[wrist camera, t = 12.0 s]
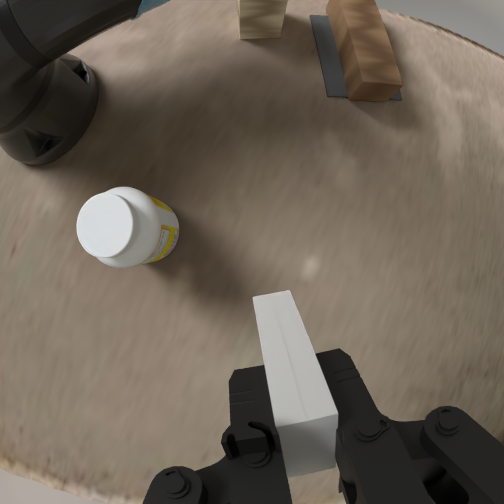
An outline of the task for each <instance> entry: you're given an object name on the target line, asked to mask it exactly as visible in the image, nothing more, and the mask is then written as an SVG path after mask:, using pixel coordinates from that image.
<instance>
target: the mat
mask: <svg viewBox="0 0 504 504" xmlns="http://www.w3.org/2000/svg"><path fill="white" fill-rule="evenodd" d="M310 19H311V23H312V27H313V31H314V35H315V40H316V44H317V48H318V53H319V57H320V62H321V66H322V71H323V76H324V81H325V86H326V91H327V96H328V97H348V94H347V89H346V84H345V80H344V75H343V71H342V67H341V63H340V59H339V54H338V51H337V47H336V43H335V39H334V35H333V32H332V28H331V24H330V21H329V17H328V16H321V15H310ZM389 99H391V100H402V97H401V93H400V90H398V91H397V92H396V93H395V94H394V95H393V96H392V97H390V98H389Z"/></svg>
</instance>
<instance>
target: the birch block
mask: <svg viewBox="0 0 504 504" xmlns="http://www.w3.org/2000/svg"><path fill="white" fill-rule="evenodd" d="M287 1H288V0H237V19H238V28H239V37H240V39H255V38H280V35H281V30H282V25H283V20H284V16H285V11H286V6H287Z"/></svg>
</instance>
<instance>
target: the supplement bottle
mask: <svg viewBox="0 0 504 504" xmlns="http://www.w3.org/2000/svg"><path fill="white" fill-rule="evenodd" d="M77 235H78V238H79V241H80V243H81V245H82V246H83V248H84V249H85V250H86V251H87V252H88V253H90V254H91V255H93V256H95V257H97V258H98V259H99V260H100V261H101V262H103V263H104V264H106V265H109V266H111V267H115V268H129V267H133V266H137V265H142V264H146V263H150V262H154V261H158V260H160V259H162V258H164V257H165V256H167V255H168V254H169V253H170V252H171V251H172V250H173V248H174V247H175V245H176V243H177V240H178V236H179V223H178V220H177V217H176V215H175V213H174V212H173V210H172V209H171V208H170V207H169V206H168V205H166V204H165V203H163V202H161V201H159V200H157V199H155V198H153V197H151V196H149V195H147V194H145V193H143V192H141V191H139V190H137V189H135V188H131V187H116V188H113V189H110V190H108V191H106V192H104V193H100V194H97V195H95V196H93V197H92V198H90V199H89V200H88V201H87V202H86V203H85V204H84V205H83V207H82V208H81V210H80V213H79V215H78V219H77Z"/></svg>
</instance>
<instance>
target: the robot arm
mask: <svg viewBox="0 0 504 504" xmlns="http://www.w3.org/2000/svg"><path fill="white" fill-rule="evenodd" d="M168 1H170V0H0V146H1V147H2V148H3V149H4V151H5V152H6V153H7V154H8V155H9V156H10V157H12V158H13V159H15V160H17V161H19V162H22V163H25V164H28V165H43V164H46V163H49V162H52V161H54V160H56V159H57V158H59V157H61V156H62V155H63V154H65V153H66V152H67V151H68V150H70V149H71V148H72V147H73V146H74V145H75V143H76V142H77V141H78V140H79V139H80V137H81V136H82V135H83V133H84V132H85V130H86V129H87V127H88V125H89V123H90V121H91V119H92V117H93V114H94V111H95V108H96V104H97V99H98V86H97V81H96V78H95V76H94V74H93V72H92V71H91V70H90V68H89V67H88V66H87V65H86V64H85V63H84V62H83V61H82V60H81V59H79V58H78V57H76V56H73V55H70V54H67V52H69V51H70V50H72V49H74V48H75V47H77V46H79V45H81V44H82V43H84V42H86V41H88V40H90V39H91V38H93V37H95V36H97V35H99V34H101V33H103V32H105V31H107V30H109V29H111V28H113V27H115V26H117V25H119V24H121V23H123V22H125V21H127V20H129V19H130V20H135V19H137V18H138V17H139V16H141V14H143V13H145V12H147V11H149V10H152V9H154V8H156V7H158V6H161V5H163V4H165V3H167V2H168ZM253 303H254V309H255V314H256V320H257V326H258V331H259V337H260V343H261V348H262V354H263V360H264V365H261V366H256V367H250V368H244V369H237V370H234V372H233V374H232V376H231V378H230V380H229V395H230V396H229V400H230V422H231V425H230V426H229V427H228V428H227V429H226V431H225V432H224V433H223V435H222V440H221V444H222V446H223V449H224V451H225V453H226V455H225V457H224V458H222V459H221V460H220V461H219V462H217V463H215V464H213V465H211V466H208V467H205V468H202V469H200V470H197V471H193V470H192V469H190V468H187V467H184V466H173V467H170V468H167V469H164V470H162V471H161V472H160V473H158V474H157V475H156V476H155V478H154V479H153V481H152V482H151V485H150V487H149V489H148V492H147V494H146V496H145V499H144V501H143V504H292V499H291V494H290V489H289V484H288V479H287V478H289V477H294V476H299V475H304V474H309V473H313V472H318V471H322V470H326V469H330V468H334V467H336V462H337V465H338V468H339V471H340V477H339V493H340V492H342V491H343V494H344V498H345V501H346V504H504V445H502V444H501V443H500V442H499V441H498V440H497V439H496V438H494V437H493V436H492V435H491V434H490V433H489V432H487V431H486V430H485V429H484V428H483V427H482V426H480V425H479V424H478V423H477V422H476V421H475V420H473V419H472V418H471V417H470V416H469V415H468V414H466V413H465V412H464V411H462V410H461V409H459V408H457V407H452V406H443V407H439V408H436V409H434V410H432V411H431V412H430V413H429V414H428V415H427V417H426V419H425V420H420V421H408V422H399V421H394V420H391V419H389V418H388V417H386V416H384V415H382V414H381V413H380V412H379V410H378V409H377V407H376V405H375V403H374V401H373V399H372V398H371V396H370V394H369V392H368V390H367V388H366V386H365V384H364V382H363V380H362V378H361V377H360V374H359V372H358V370H357V369H356V367H355V365H354V363H353V361H352V359H351V357H350V356H349V355H348V354H346V353H345V352H344V351H342V350H341V349H340V348H339V349H334V350H330V351H326V352H321V353H317V354H315V352H314V350H313V347H312V345H311V342H310V340H309V337H308V335H307V332H306V330H305V327H304V325H303V322H302V320H301V317H300V315H299V312H298V310H297V307H296V305H295V302H294V300H293V297H292V295H291V292H290V290H287V291H282V292H277V293H271V294H266V295H260V296H255V297H253Z"/></svg>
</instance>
